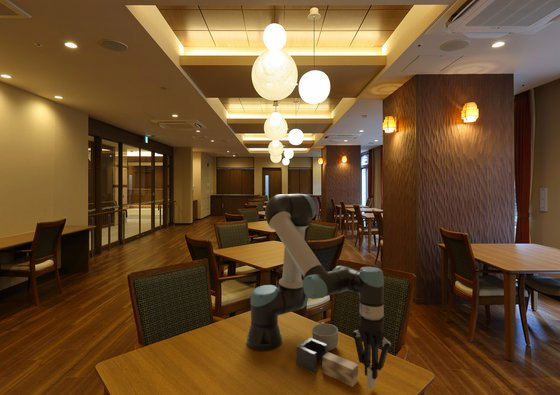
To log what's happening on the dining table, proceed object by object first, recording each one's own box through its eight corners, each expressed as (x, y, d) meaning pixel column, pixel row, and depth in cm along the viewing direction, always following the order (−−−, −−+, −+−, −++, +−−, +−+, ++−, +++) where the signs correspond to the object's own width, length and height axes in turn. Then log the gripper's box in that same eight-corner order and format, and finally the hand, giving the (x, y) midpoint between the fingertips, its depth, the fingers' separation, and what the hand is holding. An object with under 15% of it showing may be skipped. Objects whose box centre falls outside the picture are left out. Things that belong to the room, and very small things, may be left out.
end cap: (327, 362, 113) (327, 344, 113) (314, 373, 107) (314, 354, 106) (310, 354, 119) (310, 337, 118) (296, 364, 112) (296, 346, 112)
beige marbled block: (358, 381, 102) (358, 364, 102) (352, 387, 99) (352, 369, 99) (328, 367, 110) (328, 352, 110) (322, 373, 107) (322, 356, 107)
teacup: (338, 355, 118) (338, 336, 118) (310, 353, 120) (310, 333, 120) (337, 338, 132) (337, 320, 131) (313, 336, 134) (313, 318, 133)
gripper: (347, 313, 98) (347, 383, 99) (386, 325, 90) (386, 401, 90) (358, 307, 104) (357, 373, 104) (395, 317, 95) (395, 389, 96)
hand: (371, 386), depth 97 cm, fingers closed
